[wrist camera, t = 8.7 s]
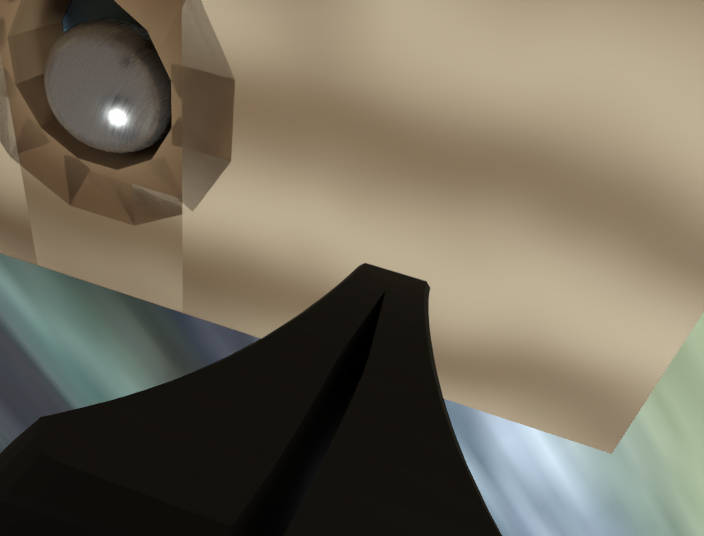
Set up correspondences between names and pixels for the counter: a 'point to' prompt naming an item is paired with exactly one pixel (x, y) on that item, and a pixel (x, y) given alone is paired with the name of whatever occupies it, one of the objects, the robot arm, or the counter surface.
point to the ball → (109, 86)
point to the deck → (398, 181)
